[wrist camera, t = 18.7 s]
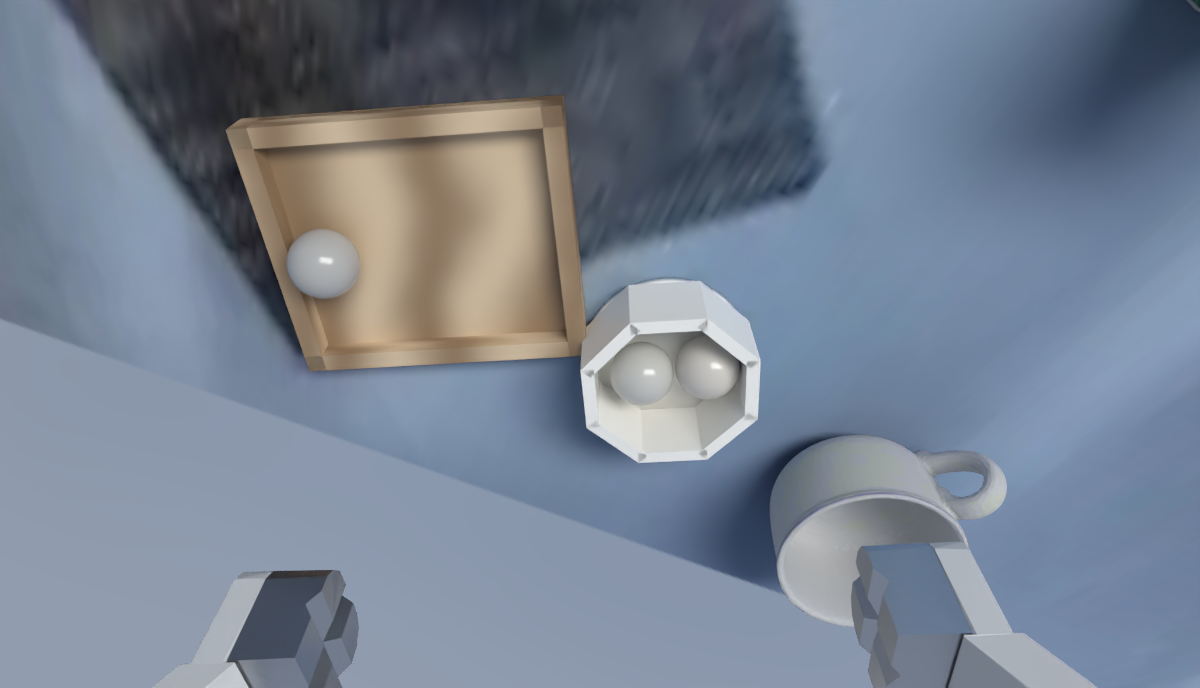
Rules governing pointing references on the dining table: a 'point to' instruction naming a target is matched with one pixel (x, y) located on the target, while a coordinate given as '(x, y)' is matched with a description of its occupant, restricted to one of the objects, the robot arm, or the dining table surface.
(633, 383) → the light grey sphere
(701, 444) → the bowl
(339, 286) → the pebble
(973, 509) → the teacup
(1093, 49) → the dining table surface
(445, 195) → the tray
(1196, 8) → the canned tomato
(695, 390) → the pebble
